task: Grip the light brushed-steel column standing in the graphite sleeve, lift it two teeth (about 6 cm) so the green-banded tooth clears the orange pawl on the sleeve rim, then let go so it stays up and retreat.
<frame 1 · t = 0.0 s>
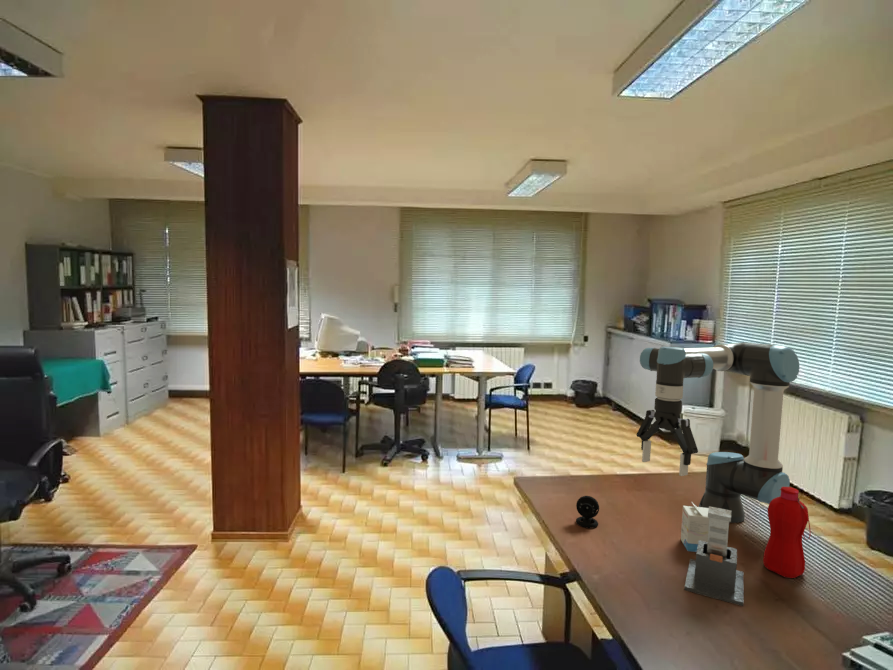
hand: (663, 468, 158), 28 cm above the table, fingers open, 13 cm apart
stand base: (714, 582, 147), on the table
webcam: (586, 524, 183), on the table
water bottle: (786, 572, 154), on the table
ink box: (697, 547, 169), on the table
column: (717, 545, 146), point 11 cm above the table, slide at 0.0 cm
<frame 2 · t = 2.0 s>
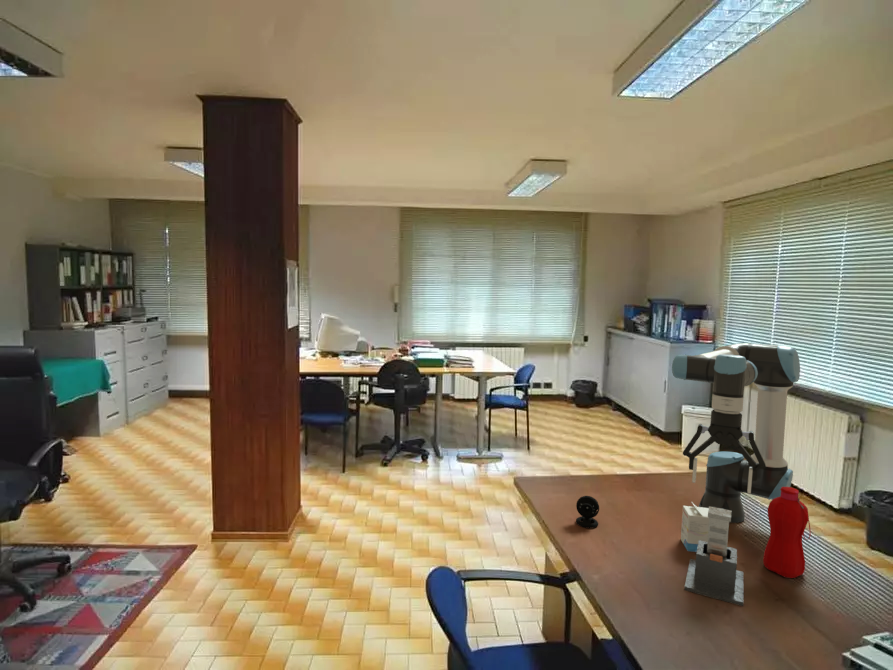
hand: (720, 486, 146), 27 cm above the table, fingers open, 13 cm apart
nothing on the table moved.
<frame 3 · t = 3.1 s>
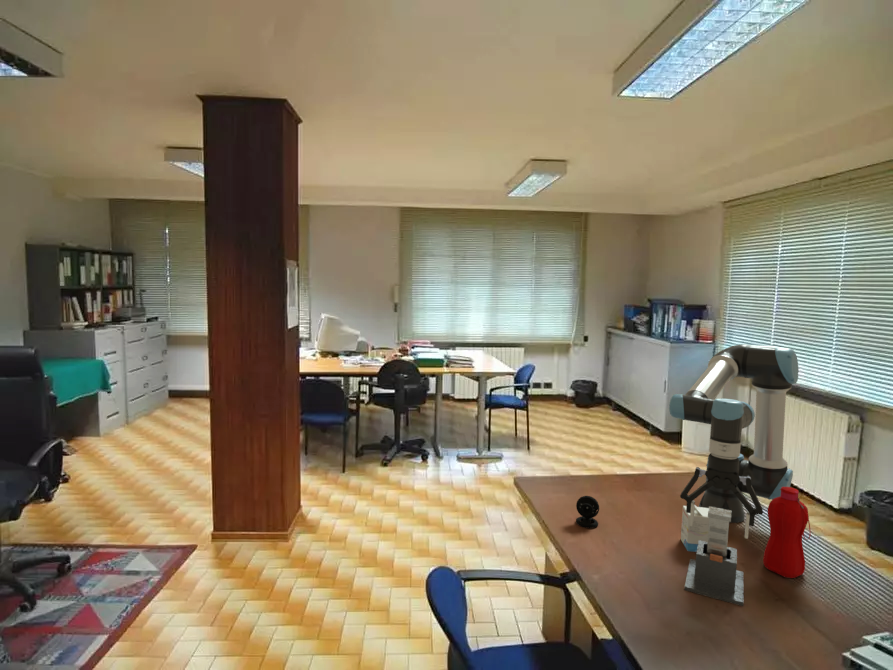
hand: (718, 530, 146), 15 cm above the table, fingers open, 13 cm apart
nothing on the table moved.
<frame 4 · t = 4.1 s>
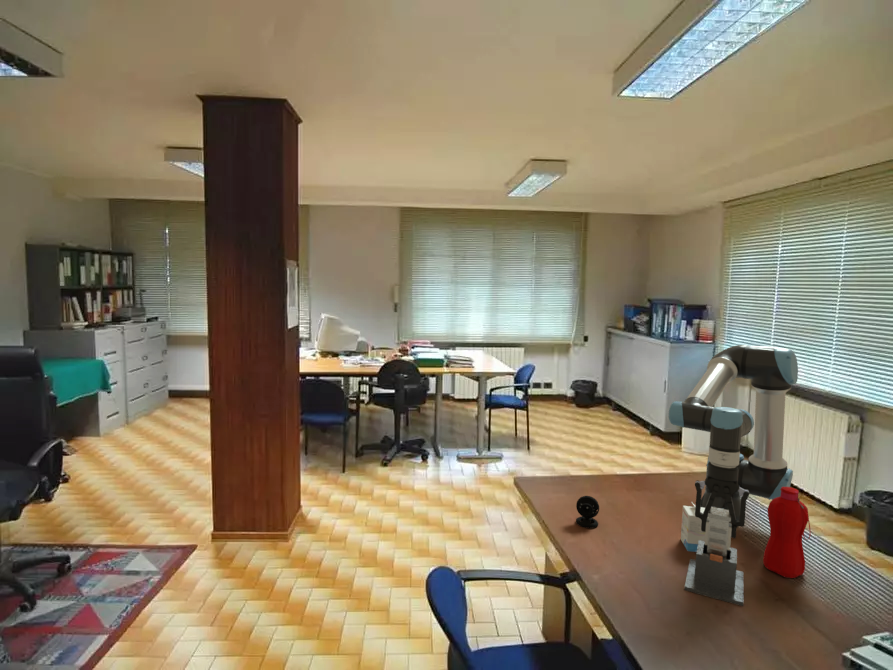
hand: (717, 545, 146), 11 cm above the table, fingers closed on column, 5 cm apart
column: (717, 545, 146), point 11 cm above the table, slide at 0.0 cm, touching gripper
everything else where it was.
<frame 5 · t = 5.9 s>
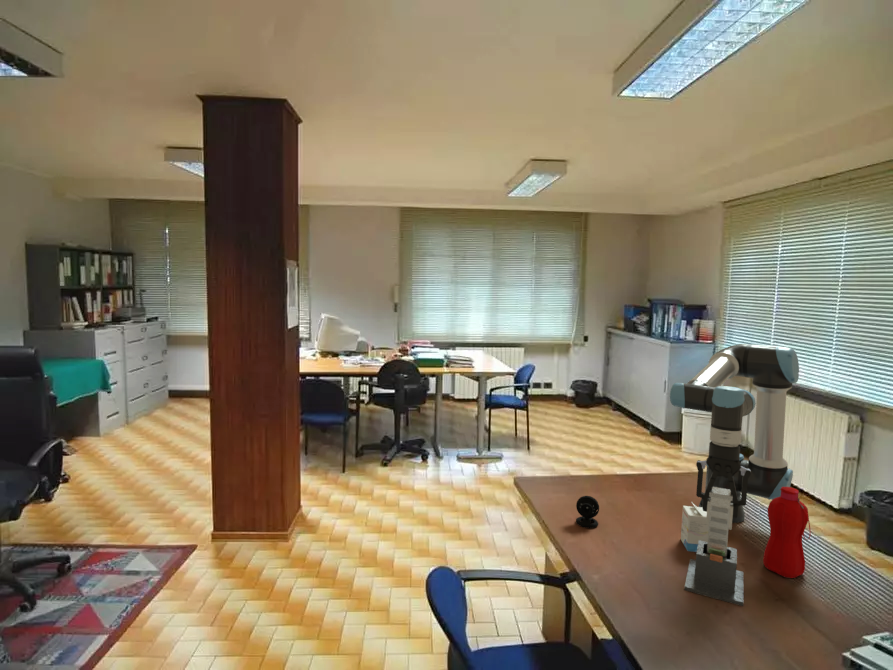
hand: (718, 525, 146), 17 cm above the table, fingers closed on column, 5 cm apart
column: (718, 524, 146), point 17 cm above the table, slide at 5.9 cm, touching gripper
everything else where it was.
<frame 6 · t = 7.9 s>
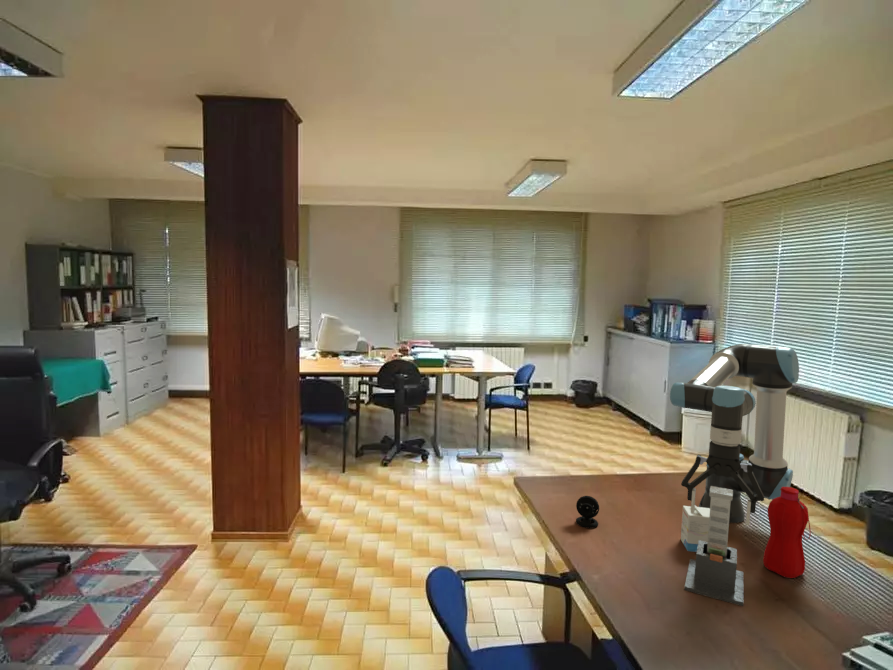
hand: (719, 517, 146), 19 cm above the table, fingers open, 13 cm apart
column: (718, 524, 146), point 17 cm above the table, slide at 6.0 cm
everything else where it was.
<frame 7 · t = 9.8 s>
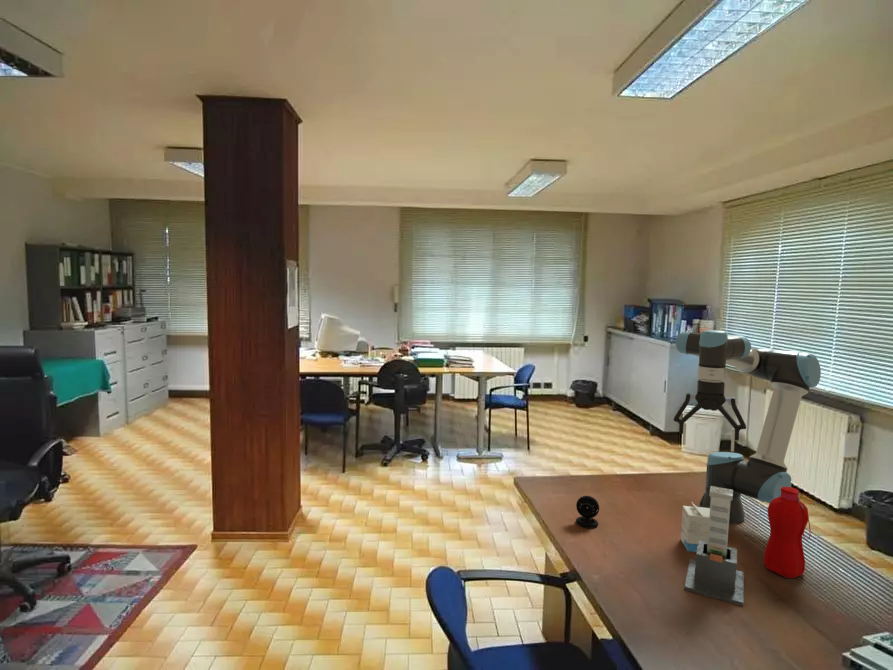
hand: (707, 447, 165), 33 cm above the table, fingers open, 13 cm apart
nothing on the table moved.
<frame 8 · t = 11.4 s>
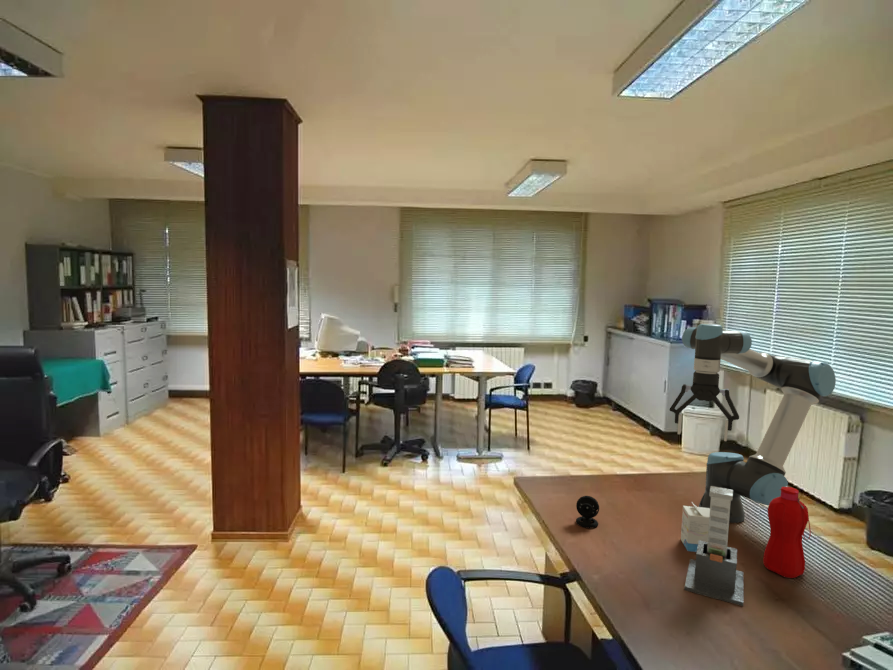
hand: (701, 436, 171), 35 cm above the table, fingers open, 13 cm apart
nothing on the table moved.
at the end: column slide at 6.0 cm; the gripper is holding nothing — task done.
